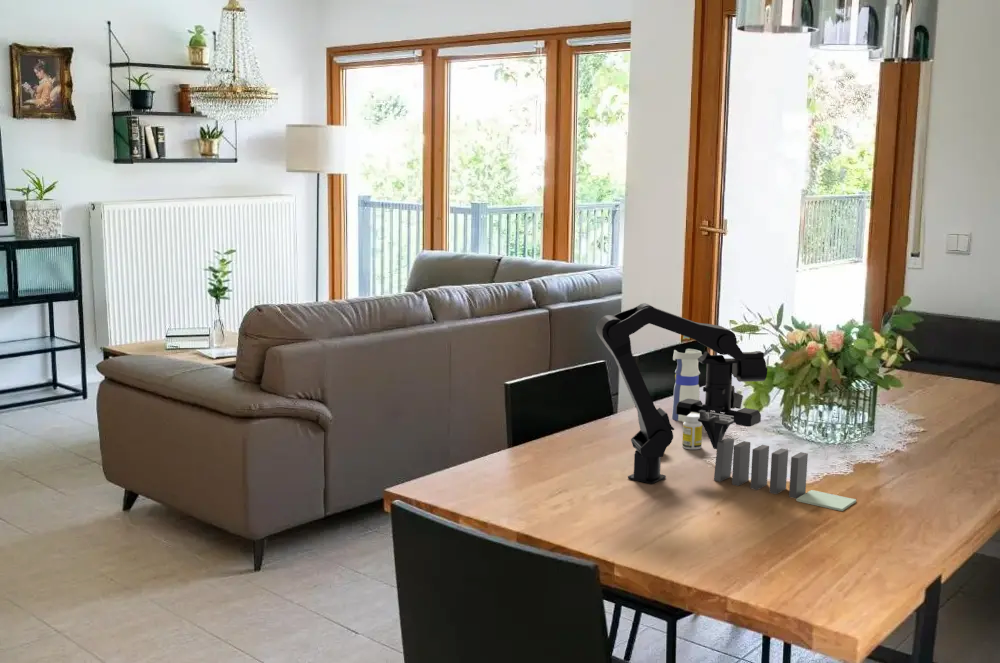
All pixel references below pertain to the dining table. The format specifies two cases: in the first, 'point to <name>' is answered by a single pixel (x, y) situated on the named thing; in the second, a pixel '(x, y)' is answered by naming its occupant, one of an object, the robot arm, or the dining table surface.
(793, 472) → the domino
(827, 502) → the pad
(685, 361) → the water bottle
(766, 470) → the domino
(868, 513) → the dining table surface
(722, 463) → the domino
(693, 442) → the supplement bottle
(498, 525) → the dining table surface
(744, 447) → the domino
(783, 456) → the domino
